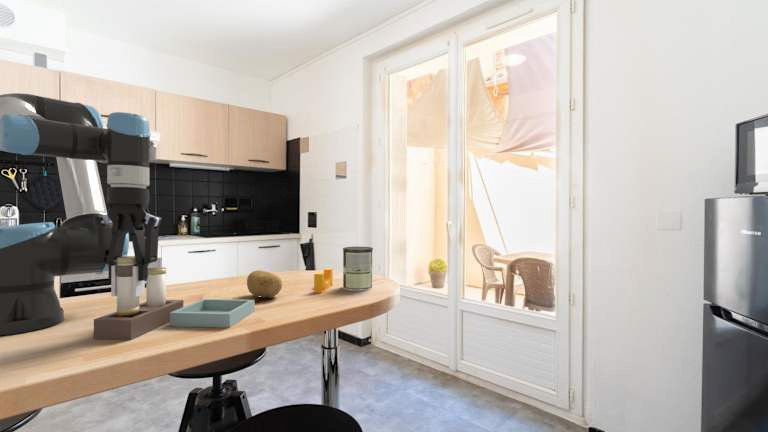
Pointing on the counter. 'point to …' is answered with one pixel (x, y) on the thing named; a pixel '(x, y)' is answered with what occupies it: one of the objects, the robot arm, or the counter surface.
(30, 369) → the counter surface
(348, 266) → the coffee can
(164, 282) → the fuse
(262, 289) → the potato
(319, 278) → the pipe clamp
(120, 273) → the fuse
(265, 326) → the counter surface
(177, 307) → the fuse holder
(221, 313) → the parts tray
